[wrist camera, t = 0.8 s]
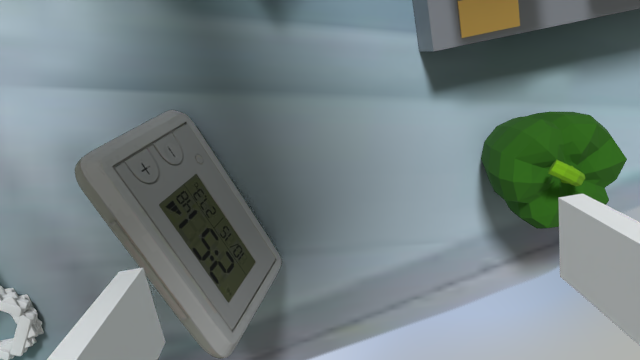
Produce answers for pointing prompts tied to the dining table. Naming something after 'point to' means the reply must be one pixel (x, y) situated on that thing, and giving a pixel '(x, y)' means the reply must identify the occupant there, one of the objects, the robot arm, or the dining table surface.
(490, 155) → the bell pepper
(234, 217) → the digital clock
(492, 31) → the switch unit
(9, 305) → the l-shaped corner panel
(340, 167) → the dining table surface
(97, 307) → the robot arm
